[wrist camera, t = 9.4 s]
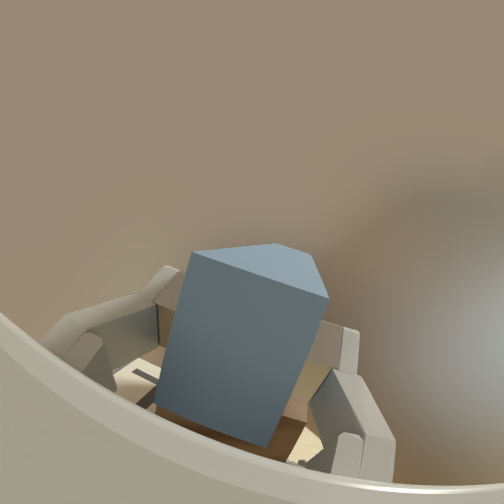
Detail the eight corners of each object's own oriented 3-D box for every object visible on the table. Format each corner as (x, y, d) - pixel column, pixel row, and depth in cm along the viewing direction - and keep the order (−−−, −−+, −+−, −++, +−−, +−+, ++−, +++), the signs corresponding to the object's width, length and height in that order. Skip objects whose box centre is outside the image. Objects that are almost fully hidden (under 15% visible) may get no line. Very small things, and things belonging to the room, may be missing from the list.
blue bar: (295, 299, 26) (310, 254, 26) (266, 447, 6) (329, 298, 6) (261, 288, 27) (276, 243, 26) (153, 403, 7) (192, 251, 7)
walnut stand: (237, 486, 34) (307, 329, 32) (202, 581, 16) (306, 422, 14) (184, 466, 35) (236, 305, 33) (130, 552, 18) (164, 370, 15)
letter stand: (171, 460, 36) (194, 380, 34) (113, 543, 18) (117, 471, 17) (123, 436, 37) (137, 354, 36) (52, 504, 19) (38, 417, 18)
